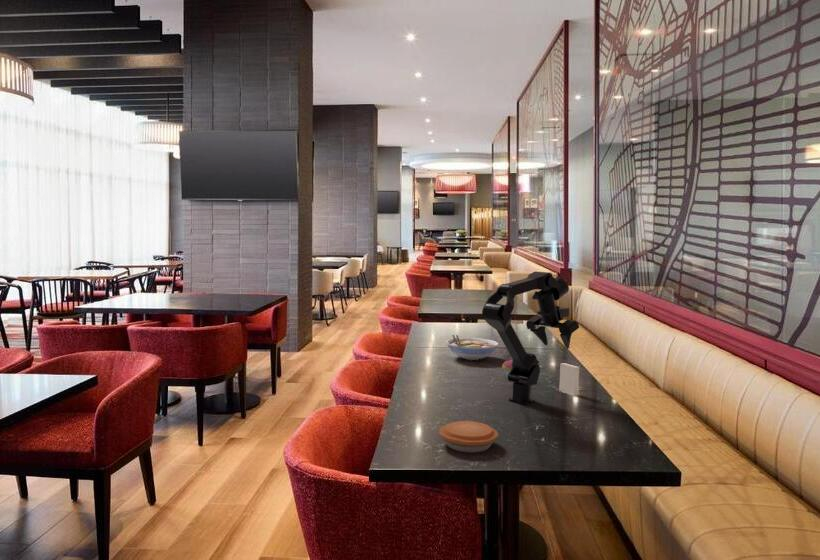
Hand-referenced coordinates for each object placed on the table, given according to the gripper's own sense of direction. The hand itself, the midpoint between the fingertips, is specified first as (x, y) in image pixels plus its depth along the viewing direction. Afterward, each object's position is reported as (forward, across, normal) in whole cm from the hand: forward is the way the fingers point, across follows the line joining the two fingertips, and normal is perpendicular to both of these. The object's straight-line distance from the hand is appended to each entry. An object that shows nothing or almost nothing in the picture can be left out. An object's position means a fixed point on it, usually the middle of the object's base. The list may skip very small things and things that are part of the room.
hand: (557, 346), depth 214 cm
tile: (+17, -3, +3) cm, 17 cm away
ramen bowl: (+19, +57, -8) cm, 61 cm away
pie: (-6, -20, +64) cm, 67 cm away
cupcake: (+16, +23, +3) cm, 28 cm away
